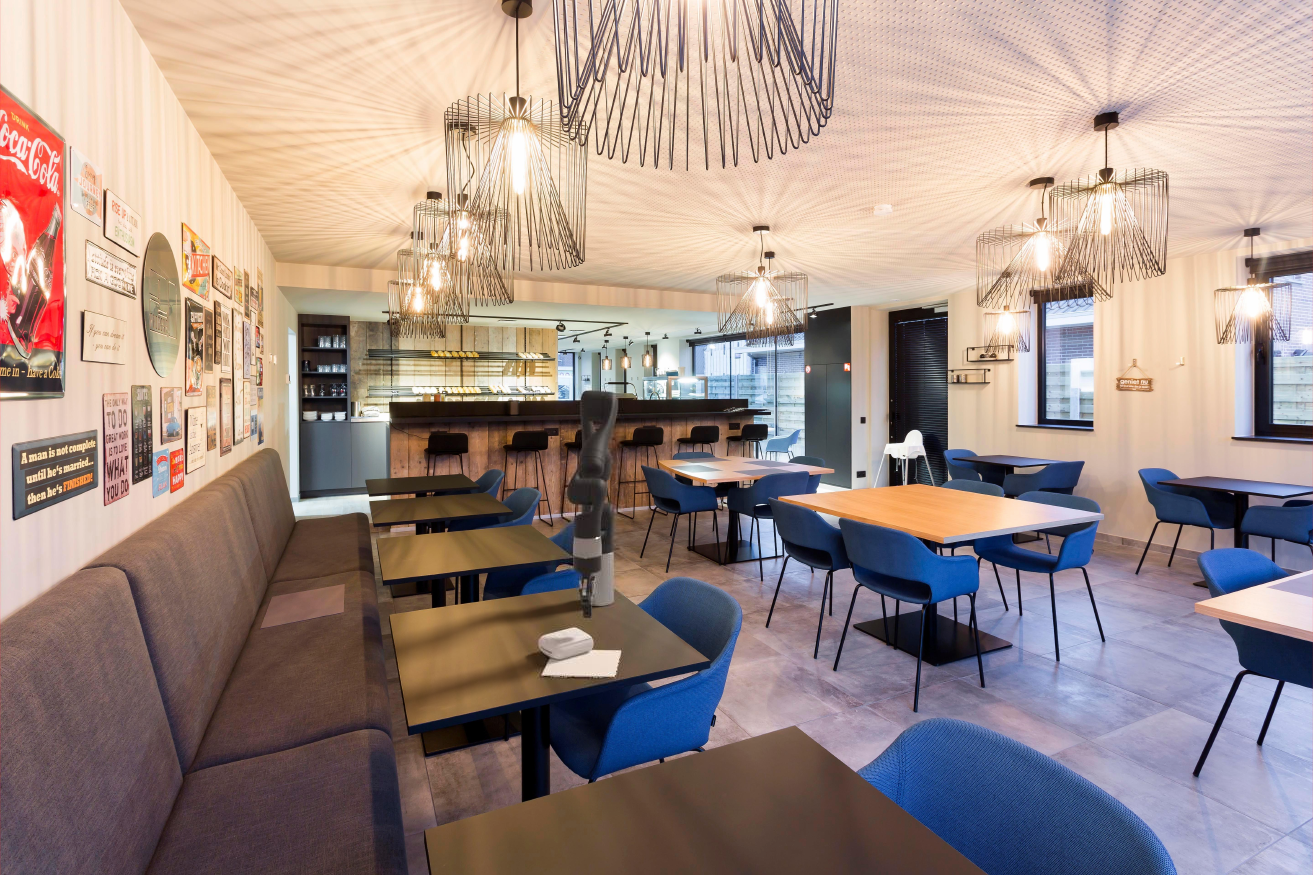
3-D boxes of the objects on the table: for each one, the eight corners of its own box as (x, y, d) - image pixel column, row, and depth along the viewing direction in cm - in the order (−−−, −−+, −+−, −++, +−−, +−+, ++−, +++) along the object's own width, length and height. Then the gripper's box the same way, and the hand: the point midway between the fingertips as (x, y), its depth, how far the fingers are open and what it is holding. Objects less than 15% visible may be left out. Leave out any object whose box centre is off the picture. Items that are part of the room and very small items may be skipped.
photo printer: (574, 639, 176) (534, 651, 169) (574, 624, 176) (534, 635, 168) (594, 651, 168) (553, 664, 161) (594, 636, 168) (553, 647, 160)
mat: (554, 650, 170) (554, 649, 170) (621, 652, 169) (621, 650, 169) (541, 676, 154) (541, 674, 154) (615, 678, 153) (615, 676, 153)
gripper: (577, 547, 175) (577, 608, 176) (569, 558, 162) (569, 625, 163) (604, 547, 175) (604, 609, 176) (598, 559, 161) (598, 625, 162)
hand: (587, 616), depth 169 cm, fingers closed
